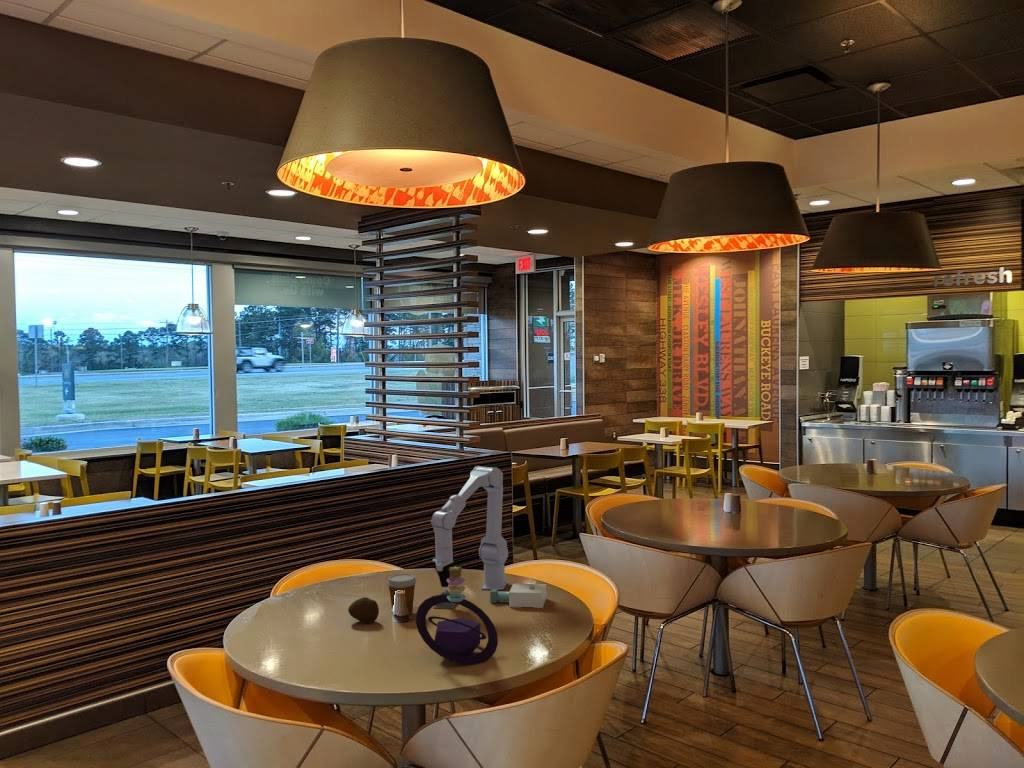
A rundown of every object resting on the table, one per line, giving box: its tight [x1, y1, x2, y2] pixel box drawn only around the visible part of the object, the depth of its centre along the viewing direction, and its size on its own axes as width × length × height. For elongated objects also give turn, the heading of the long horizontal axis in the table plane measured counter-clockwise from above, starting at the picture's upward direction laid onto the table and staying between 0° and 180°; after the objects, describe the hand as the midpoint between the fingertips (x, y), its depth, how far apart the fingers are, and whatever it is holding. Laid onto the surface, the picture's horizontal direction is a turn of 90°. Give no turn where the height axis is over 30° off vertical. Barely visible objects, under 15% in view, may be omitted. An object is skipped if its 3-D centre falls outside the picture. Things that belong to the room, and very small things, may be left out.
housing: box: [508, 582, 547, 609], centre depth 268 cm, size 10×11×6 cm
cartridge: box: [489, 589, 509, 604], centre depth 269 cm, size 3×15×4 cm, turn 81°
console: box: [432, 588, 461, 610], centre depth 272 cm, size 15×7×2 cm, turn 171°
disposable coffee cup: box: [386, 573, 417, 616], centre depth 260 cm, size 10×10×12 cm
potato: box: [347, 596, 380, 624], centre depth 253 cm, size 7×10×8 cm
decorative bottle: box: [415, 565, 499, 666], centre depth 223 cm, size 22×21×25 cm
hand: (444, 586), depth 268 cm, fingers closed
